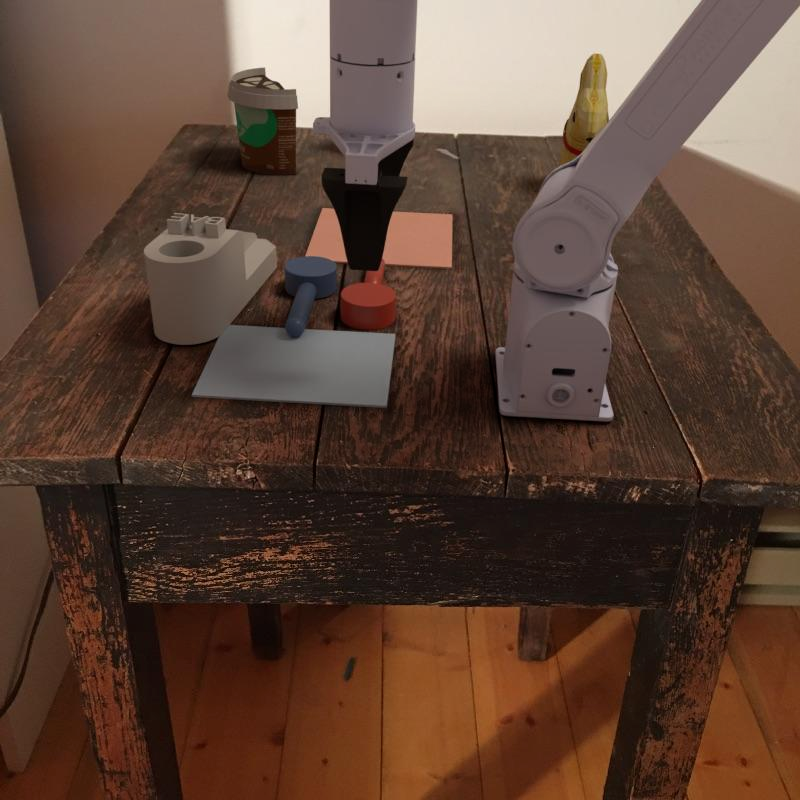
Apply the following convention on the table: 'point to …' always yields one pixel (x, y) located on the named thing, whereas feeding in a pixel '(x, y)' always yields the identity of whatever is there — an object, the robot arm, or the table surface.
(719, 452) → the table surface
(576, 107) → the chocolate bunny
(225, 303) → the grey lettered holder
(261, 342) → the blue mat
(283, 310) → the table surface
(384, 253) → the rose mat
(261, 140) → the food container
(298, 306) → the blue spoon
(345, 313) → the red spoon
